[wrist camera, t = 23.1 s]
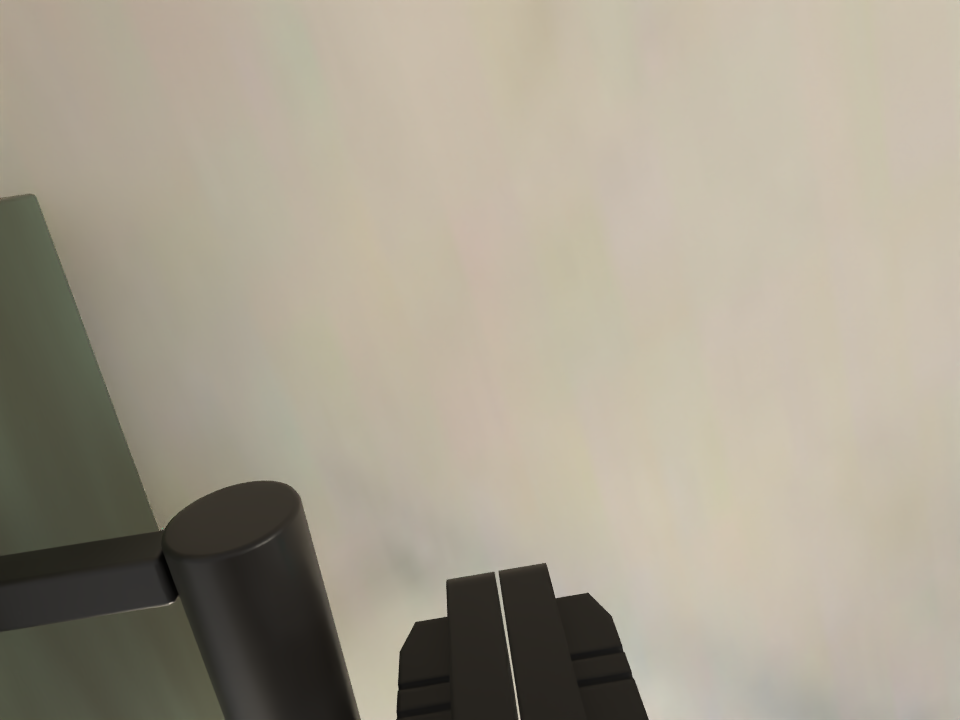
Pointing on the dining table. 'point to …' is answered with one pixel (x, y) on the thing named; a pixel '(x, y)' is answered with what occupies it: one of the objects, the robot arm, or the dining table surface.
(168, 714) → the drawer
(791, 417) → the dining table surface
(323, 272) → the dining table surface
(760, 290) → the dining table surface
